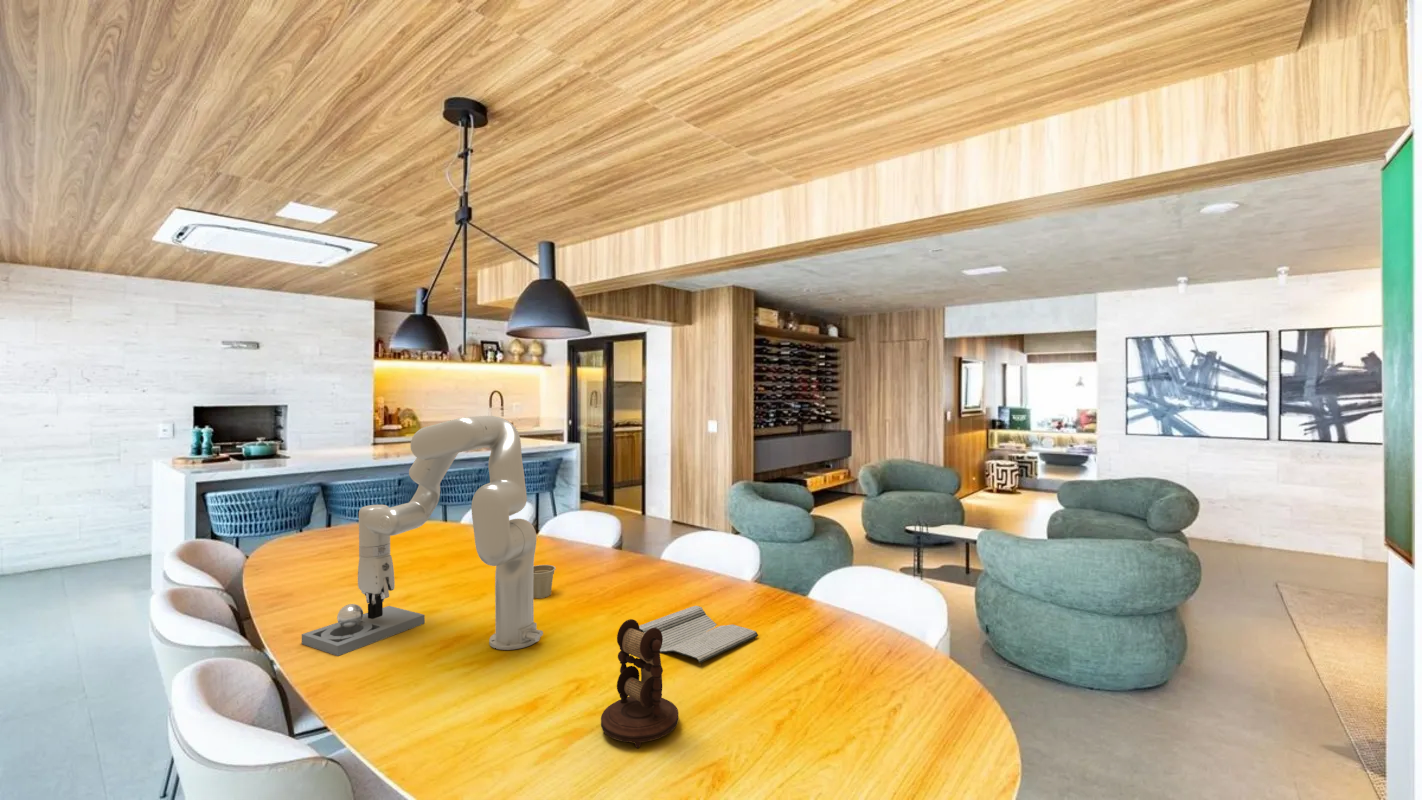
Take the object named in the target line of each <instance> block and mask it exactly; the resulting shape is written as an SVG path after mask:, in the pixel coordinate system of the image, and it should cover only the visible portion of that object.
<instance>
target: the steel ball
mask: <svg viewBox="0 0 1422 800" xmlns="http://www.w3.org/2000/svg"><path fill="white" fill-rule="evenodd" d="M363 614H364V610H363V608H362V607H361V606H360V605H359V604H355V603H349V604H346V605H344V606H343V607H342V608H340V610H339V611H338V613H337V618H336V619H337V623H339V624H340V625H341V626H343V627H346V628H350V627H354V626H356V625H357V624H359V623H360V621H361V620H362V618H363Z"/></svg>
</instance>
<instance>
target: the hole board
mask: <svg viewBox="0 0 1422 800" xmlns="http://www.w3.org/2000/svg"><path fill="white" fill-rule="evenodd" d="M424 623H425V614H423V613H419V612H415V611H411V610H407V609H403V608H400V607H395V606H391V605H388V606H384V607H383V615H382V616H380V617H377V618H374V619H371V618H368V612H366V613H363V618H362V620H361V621H360V623H359V624H357V625H356V626H354V627H350V628H346V627H343V626H341V625H340V624H339V623H338V622H335V623H332V624H328V625H325V626H323V627H319V628H316V629H313V630H311V631H307V632H304V633H301V645H303V646H307V647H309V648H313V649H316V650H318V651H321V652H324V653H327V654H331V655H333V656H336V657H339V656H342V655H345V654H347V653H350V652H352V651H355V650H357V649H361V648H363V647H366V646H369V645H371V644H374V643H377V642H379V641H382V640H385V639H387V638H390V637H393V636H395V635H398V634H401V633H403V632H406V631H409V630H411V629H414V628H417V627H419V626H422V625H424ZM421 624H422V625H421ZM416 626H417V627H416ZM408 629H409V630H408Z"/></svg>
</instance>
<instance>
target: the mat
mask: <svg viewBox="0 0 1422 800" xmlns="http://www.w3.org/2000/svg"><path fill="white" fill-rule="evenodd" d="M716 625H718V624H717V623H716V622H714V621H713V619H711V617H710V616H708V615H707V614H706V612H705V611H704V609H703V607H702V606H699V605H694V606H690V607H687V608H685V609H681V610H679V611H676V612H673V613H670V614H668V615H665V616H662V617H659V618H657V619H654V620H651V621H649V622H646V623H644V624H640V625H639V628H640V632H643V633H646V631H648V630H649V629H651V628H658V629H659V630H660V631H661V633H662V637H663V641H662V647H661V649H660V651H661V653H660V654H663V653H676V654H679V655H682V656H684V657H688V658H692V659H695V660H697V662H698V663H699V664H701V665H700V666H701V667H702V665H703V662H705V661H708V660H710V659H711V658H713V657H716V656H718V655H720V654H722V653H724V652H726V651H728V650H731V649H733V648H735V647H737V646H739V645H741V644H742V645H743V644H744V643H746V642H749V641H752V640H753V639H754V640H755V638H757V637H759V634H758V632H757V631H756V630H753V629H750V628H747V627H742V626H740V625H736V624H727V625H718V626H716ZM715 626H716V627H715Z"/></svg>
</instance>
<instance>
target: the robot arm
mask: <svg viewBox="0 0 1422 800" xmlns="http://www.w3.org/2000/svg"><path fill="white" fill-rule="evenodd" d="M481 449H490V454H489V458H488V473H489V482H488V483H486V484H484V485H481V486H480V487H479V488H478V489H477V490H476V491H475V492H474V495H473V497H472V500H471V517H472V518H471V520H472V528H473V535H474V544H475V549H476V553H477V555H478V558H479V559H480V560H481V562H483V563H484V564H485V565H488V566H492V567H495V577H494V579H495V583H494V584H495V585H494V590H495V591H494V593H495V594H494V595H495V598H494V599H495V601H494V602H495V606H494V607H495V608H494V610H495V614H494V615H495V632H494V633H493V634H492V635H490V637H489V641H488V644H489V646H490V647H491V648H493V649H495V648H496V649H495V650H501V651H503V650H504V651H510V650H520V649H523V648H527V647H529V646H532V645H534V644H535V643H537V642H539V641H540V640H541V637H542V636H543V635H544V631H543V630H541V629H537V622H534V621H535V619H534V616H535V615H534V598H533V579H534V578H533V570H534V566H535V565H534V564H535V554H536V548H537V547H536V546H537V531H536V529H535V527H534V525H533V524H532V523H531V522H529V521H528V520H527V519H524V518H512V519H510V516H513V515H515V514H517V513H519V512H521V511H522V510H524V508H525V506H526V505H527V500H528V497H527V488H526V479H525V471H524V465H523V456H522V443H521V437H520V433H519V431H518V430H517V428H516V427H515V425H514V424H513V423H511V422H510V421H509V420H507V419H505V418H503V417H501V416H500V417H499V416H494V415H478V416H468V417H466V416H464V417H459V418H454V419H452V420H447V421H444V422H440V423H436V424H433V425H429V426H428V425H427V426H425V427H424V426H423V427H422V428H420V429H419V430H417V431H416V432H415V433H414V434H413V435H412V438H411V439H410V450H411V453H412V455H413V456H414V457H415V460H414V462H413V463H412V465H411V466H410V468H409V469H408V474H409V475H408V476H409V477H410V479H411V480H412V481H413V482H414V483H415V484H417V485H418V486H417V489H416V491H415V492H414V494H413V496H412V498H411V499H410V501H409V502H406V503H402V504H398V505H395V506H391V507H389V506H388V505H386V504H371V505H364V506H362V507H361V508H360V509H359V511H358V566H357V587H358V590H359V591H361V593H362V594H363V595H364V596H365V599H366V604H367V613H368V618H371V619H374V618H377V617H380V616H382V615H383V608H384V607H383V602H384V601H385V599H387V598H388V599H389V598H390V593H389V592H391V591H394V590H395V586H396V585H395V569H394V562H393V557H392V555H391V536H396V535H400V534H402V533H406V532H409V531H413V530H416V529H418V528H420V527H422V526H423V525H424V524H426V523H427V521H428V520H429V519H430V517H431V516H432V514H433V512H434V511H435V509H436V508H437V506H438V503H439V502H440V497H441V495H440V494H441V482H442V480H443V479H444V478H445V476H446V474H447V473H448V470H449V469H450V468H451V466H452V465H453V463H454V461H455V459H456V457H457V456H458V455H459V453H464V452H468V451H475V450H481Z"/></svg>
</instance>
